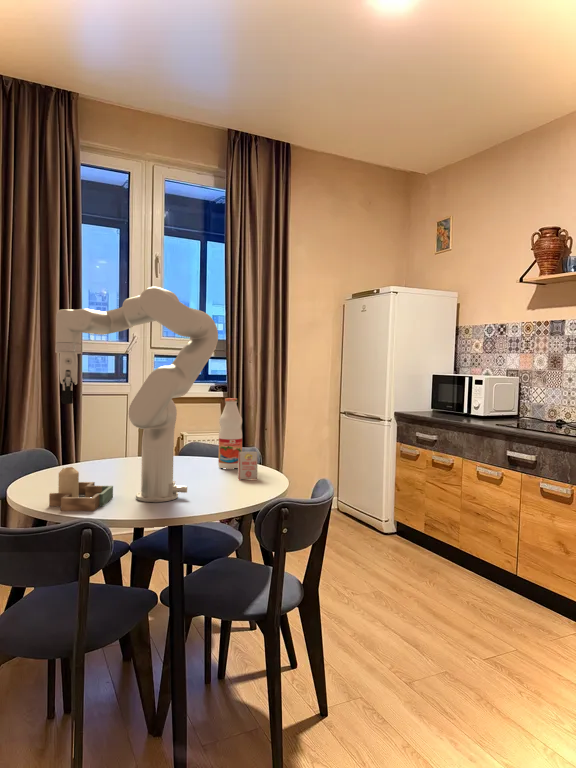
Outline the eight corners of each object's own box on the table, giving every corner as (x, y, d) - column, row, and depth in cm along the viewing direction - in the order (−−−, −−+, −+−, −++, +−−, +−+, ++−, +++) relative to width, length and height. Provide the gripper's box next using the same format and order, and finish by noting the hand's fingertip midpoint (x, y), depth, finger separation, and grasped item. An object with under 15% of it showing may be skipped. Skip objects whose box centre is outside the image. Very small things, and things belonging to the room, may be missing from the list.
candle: (76, 503, 158) (76, 469, 158) (56, 503, 157) (56, 469, 157) (80, 498, 163) (80, 466, 163) (61, 499, 163) (61, 466, 162)
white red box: (237, 478, 199) (238, 451, 198) (256, 477, 200) (256, 450, 200) (238, 480, 195) (239, 452, 195) (257, 480, 196) (257, 452, 196)
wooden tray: (117, 493, 171) (117, 482, 171) (97, 510, 150) (97, 498, 150) (65, 493, 170) (65, 481, 170) (38, 510, 150) (38, 498, 149)
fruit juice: (240, 465, 224) (241, 397, 223) (242, 469, 215) (244, 399, 214) (217, 465, 223) (218, 397, 222) (218, 470, 213) (220, 399, 213)
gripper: (82, 349, 166) (80, 404, 166) (79, 349, 182) (78, 400, 182) (55, 347, 163) (54, 404, 163) (55, 348, 179) (54, 400, 179)
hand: (67, 402), depth 173 cm, fingers open, 9 cm apart
